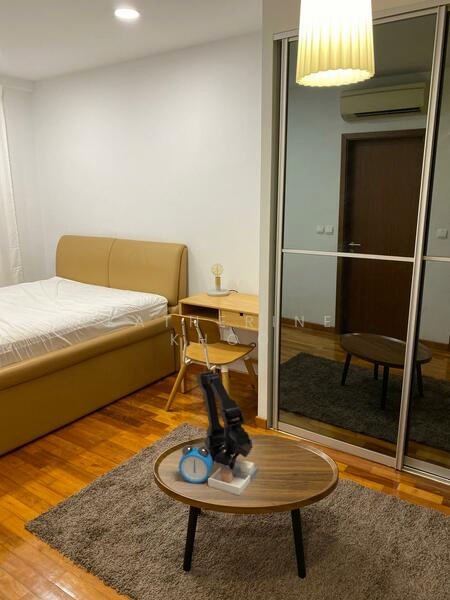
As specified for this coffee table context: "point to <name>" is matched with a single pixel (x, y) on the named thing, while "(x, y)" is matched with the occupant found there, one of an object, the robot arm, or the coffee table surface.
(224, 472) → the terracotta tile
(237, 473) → the slate plate
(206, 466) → the alarm clock
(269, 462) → the coffee table surface
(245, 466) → the cream block
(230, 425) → the robot arm
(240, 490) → the tray
